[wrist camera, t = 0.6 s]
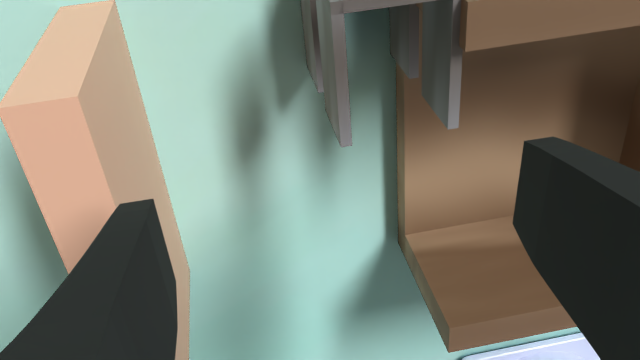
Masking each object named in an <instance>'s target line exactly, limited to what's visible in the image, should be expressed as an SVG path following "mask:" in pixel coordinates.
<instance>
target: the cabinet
mask: <svg viewBox="0 0 640 360" xmlns="http://www.w3.org/2000/svg"><path fill="white" fill-rule="evenodd" d="M300 2H301V12H302V22H303V31H304V41H305V51H306V61H307V67H308V69H309V72H310V74H311V77H312V79H313V81H314V84H315V86H316V89H317V91H318V93H321V92H324V99H325V110H326V113H327V115H328V117H329V120H330V122H331V125H332V127H333V129H334V132H335V134H336V137H337V139H338V141H339V144H340V146H341V147H346V146H352V134H351V118H350V102H349V86H348V70H347V54H346V38H345V22H344V14H345V13H352V12H359V11H366V10H373V9H380V8H387V7H389V23H390V54H391V55H392V57H393V58H394V59H395V61H396V113H397V188H398V243H399V245H400V248H401V250H402V252H403V254H404V256H405V259H406V261H407V263H408V265H409V267H410V269H411V272H412V274H413V276H414V278H415V280H416V283H417V285H418V287H419V289H420V291H421V294H422V296H423V298H424V300H425V302H426V305H427V307H428V309H429V311H430V313H431V316H432V318H433V320H434V322H435V324H436V327H437V329H438V331H439V333H440V335H441V337H442V340H443V342H444V344H445V346H446V348H447V351H448V353H450V352H455V351H459V350H464V349H469V348H474V347H479V346H484V345H489V344H494V343H499V342H503V341H508V340H513V339H518V338H523V337H528V336H533V335H538V334H543V333H548V332H552V331H557V330H562V329H567V328H572V327H577V326H576V324H575V323H574V321H573V320H572V319H571V317H570V316H569V314H568V313H567V312H566V310H565V309H564V307H563V306H562V305H561V303H560V302H559V301H558V299H557V298H556V296H555V295H554V294H553V292H552V291H551V289H550V288H549V286H548V285H547V284H546V282H545V281H544V279H543V278H542V276H541V275H540V274H539V272H538V271H537V269H536V268H535V266H534V265H533V263H532V261H531V259H530V257H529V256H528V254H527V252H526V250H525V248H524V246H523V244H522V242H521V240H520V238H519V236H518V234H517V232H516V230H515V228H514V226H513V224H512V223H513V216H514V209H515V201H516V194H517V187H518V180H519V173H520V166H521V159H522V152H523V145H524V141H527V140H533V139H540V138H546V137H557V138H560V139H563V140H566V141H568V142H571V143H573V144H576V145H578V146H581V147H583V148H586V149H588V150H590V151H593V152H595V153H597V154H600V155H602V156H604V157H607V158H609V159H611V160H613V161H616V162H618V163H620V164H623V165H625V166H627V167H629V168H632V169H634V170H636V171H639V172H640V0H300Z"/></svg>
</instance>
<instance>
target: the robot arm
mask: <svg viewBox="0 0 640 360" xmlns="http://www.w3.org/2000/svg"><path fill="white" fill-rule="evenodd" d="M512 224H513V226H514V228H515V230H516V232H517V234H518V236H519V238H520V240H521V242H522V244H523V246H524V248H525V250H526V252H527V254H528V256H529V257H530V259H531V261H532V263H533V265H534V266H535V268H536V269H537V271H538V272H539V274H540V275H541V276H542V278H543V279H544V281H545V282H546V284H547V285H548V286H549V288H550V289H551V291H552V292H553V294H554V295H555V296H556V298H557V299H558V301H559V302H560V303H561V305H562V306H563V307H564V309H565V310H566V312H567V313H568V314H569V316H570V317H571V319H572V320H573V321H574V323H575V324H576V326H577V327H578V328H579V330H580V331H581V333H577V334H572V335H567V336H562V337H557V338H552V339H548V340H543V341H538V342H533V343H528V344H523V345H518V346H514V347H509V348H504V349H499V350H494V351H489V352H484V353H480V354H475V355H470V356H466V357H464V358H463V359H462V360H640V172H639V171H636V170H634V169H632V168H629V167H627V166H625V165H623V164H620V163H618V162H616V161H613V160H611V159H609V158H607V157H604V156H602V155H600V154H597V153H595V152H593V151H590V150H588V149H586V148H583V147H581V146H578V145H576V144H573V143H571V142H568V141H566V140H563V139H560V138H557V137H546V138H540V139H533V140H527V141H524V145H523V152H522V159H521V166H520V173H519V180H518V187H517V194H516V201H515V209H514V216H513V223H512ZM177 331H178V319H177V290H176V279H175V275H174V272H173V268H172V264H171V261H170V257H169V253H168V250H167V246H166V243H165V239H164V235H163V232H162V228H161V224H160V221H159V217H158V214H157V210H156V206H155V203H154V199H147V200H141V201H134V202H128V203H122V204H119V205H118V207H117V208H116V209H115V211H114V212H113V213H112V215H111V216H110V217H109V219H108V220H107V222H106V223H105V225H104V226H103V228H102V229H101V230H100V232H99V233H98V235H97V236H96V238H95V239H94V241H93V242H92V243H91V245H90V246H89V248H88V249H87V250H86V252H85V253H84V255H83V256H82V257H81V259H80V260H79V261H78V263H77V264H76V265H75V267H74V268H73V269H72V271H71V272H70V273H69V275H68V276H67V277H66V279H65V280H64V281H63V283H62V284H61V285H60V286H59V288H58V289H57V290H56V291H55V293H54V294H53V295H52V296H51V297H50V299H49V300H48V301H47V302H46V303H45V305H44V306H43V307H42V308H41V309H40V311H39V312H38V313H37V314H36V315H35V317H34V318H33V319H32V320H31V321H30V322H29V323H28V325H27V326H26V327H25V328H24V329H23V330H22V331H21V332H20V333H19V334H18V335H17V336H16V337H15V339H14V340H13V341H12V342H11V343H10V344H9V345H8V346H7V347H6V348H5V349H4V350H3V351H2V352H1V353H0V360H175V354H176V343H177Z"/></svg>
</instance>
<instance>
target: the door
mask: <svg viewBox="0 0 640 360" xmlns="http://www.w3.org/2000/svg"><path fill="white" fill-rule="evenodd" d="M0 117H1V119H2V122H3V124H4V126H5V129H6V131H7V133H8V136H9V138H10V140H11V143H12V145H13V147H14V149H15V152H16V154H17V156H18V159H19V161H20V163H21V166H22V168H23V170H24V173H25V175H26V177H27V180H28V182H29V184H30V186H31V189H32V191H33V193H34V196H35V198H36V200H37V203H38V205H39V207H40V210H41V212H42V214H43V216H44V219H45V221H46V223H47V226H48V228H49V230H50V233H51V235H52V237H53V240H54V242H55V244H56V247H57V249H58V251H59V253H60V256H61V258H62V260H63V263H64V265H65V267H66V270H67V272H68V274H69V273H70V272H71V271H72V269H73V268H74V267H75V265H76V264H77V263H78V261H79V260H80V259H81V257H82V256H83V255H84V253H85V252H86V250H87V249H88V248H89V246H90V245H91V243H92V242H93V241H94V239H95V238H96V236H97V235H98V233H99V232H100V230H101V229H102V228H103V226H104V225H105V223H106V222H107V220H108V219H109V217H110V216H111V215H112V213H113V212H114V211H115V209H116V208H117V207H118V205H119V204H122V203H128V202H134V201H141V200H147V199H154V203H155V206H156V210H157V214H158V217H159V221H160V224H161V228H162V232H163V235H164V239H165V243H166V246H167V250H168V253H169V257H170V261H171V264H172V268H173V272H174V275H175V279H176V290H177V319H178V331H177V343H176V354H175V360H189V299H190V270H189V266H188V262H187V259H186V255H185V252H184V248H183V244H182V241H181V237H180V234H179V230H178V226H177V223H176V219H175V215H174V212H173V208H172V205H171V201H170V197H169V194H168V190H167V187H166V183H165V179H164V176H163V172H162V169H161V165H160V161H159V158H158V154H157V151H156V147H155V143H154V140H153V136H152V133H151V129H150V125H149V122H148V118H147V115H146V111H145V107H144V104H143V100H142V97H141V93H140V89H139V86H138V82H137V79H136V75H135V71H134V68H133V64H132V61H131V57H130V53H129V50H128V46H127V42H126V39H125V35H124V32H123V28H122V24H121V21H120V17H119V14H118V10H117V6H116V3H115V0H109V1H101V2H94V3H86V4H79V5H71V6H64V7H60V8H59V10H58V11H57V13H56V15H55V16H54V18H53V19H52V21H51V23H50V24H49V26H48V27H47V29H46V31H45V32H44V34H43V35H42V37H41V39H40V40H39V42H38V43H37V45H36V46H35V48H34V50H33V51H32V53H31V54H30V56H29V58H28V59H27V61H26V62H25V64H24V66H23V67H22V69H21V70H20V72H19V74H18V75H17V77H16V78H15V80H14V82H13V83H12V85H11V86H10V88H9V90H8V91H7V93H6V94H5V96H4V98H3V99H2V101H1V102H0Z"/></svg>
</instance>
